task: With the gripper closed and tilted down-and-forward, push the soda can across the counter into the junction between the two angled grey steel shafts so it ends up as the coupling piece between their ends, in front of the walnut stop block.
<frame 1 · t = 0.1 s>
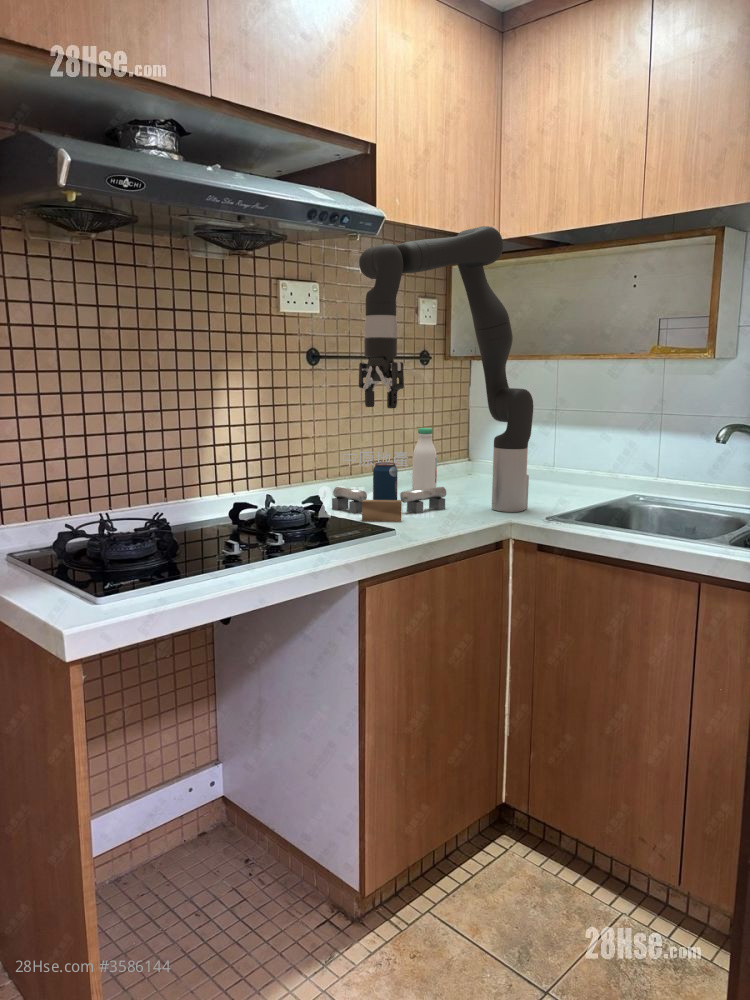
hand: (380, 407, 167), 29 cm above the table, tool pointing down, fingers open, 8 cm apart
soda can: (385, 505, 204), on the table
milk bottle: (424, 491, 230), on the table
shaft B: (349, 510, 196), on the table
shaft A: (423, 510, 196), on the table
stop block: (381, 520, 184), on the table
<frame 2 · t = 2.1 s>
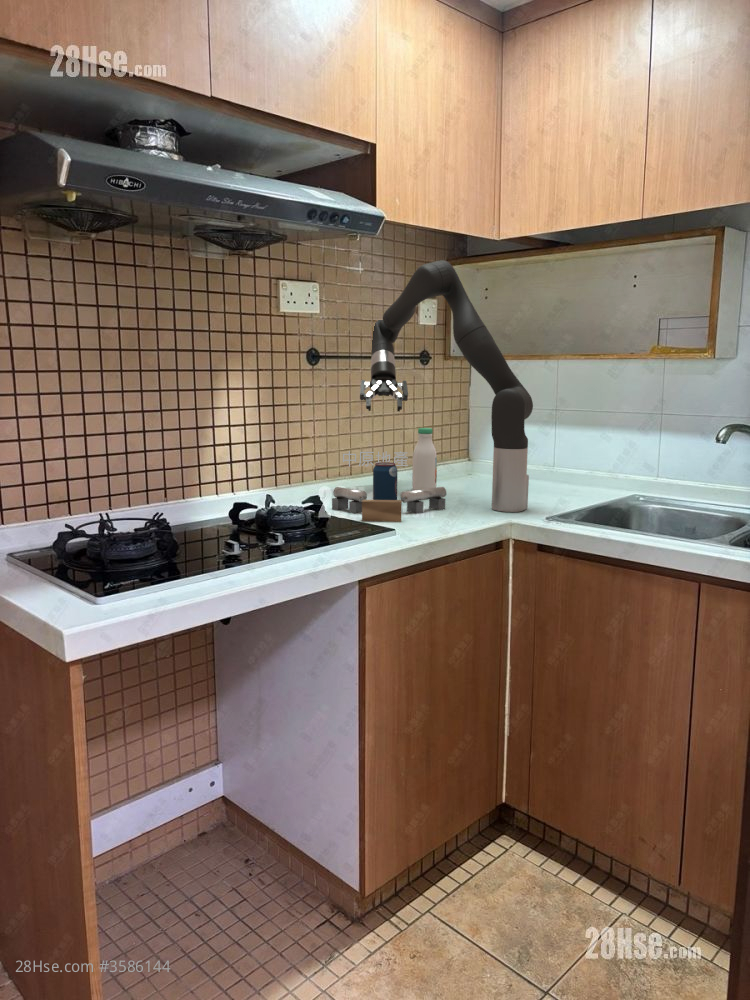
hand: (384, 409, 209), 27 cm above the table, tool tilted 45°, fingers open, 8 cm apart
nothing on the table moved.
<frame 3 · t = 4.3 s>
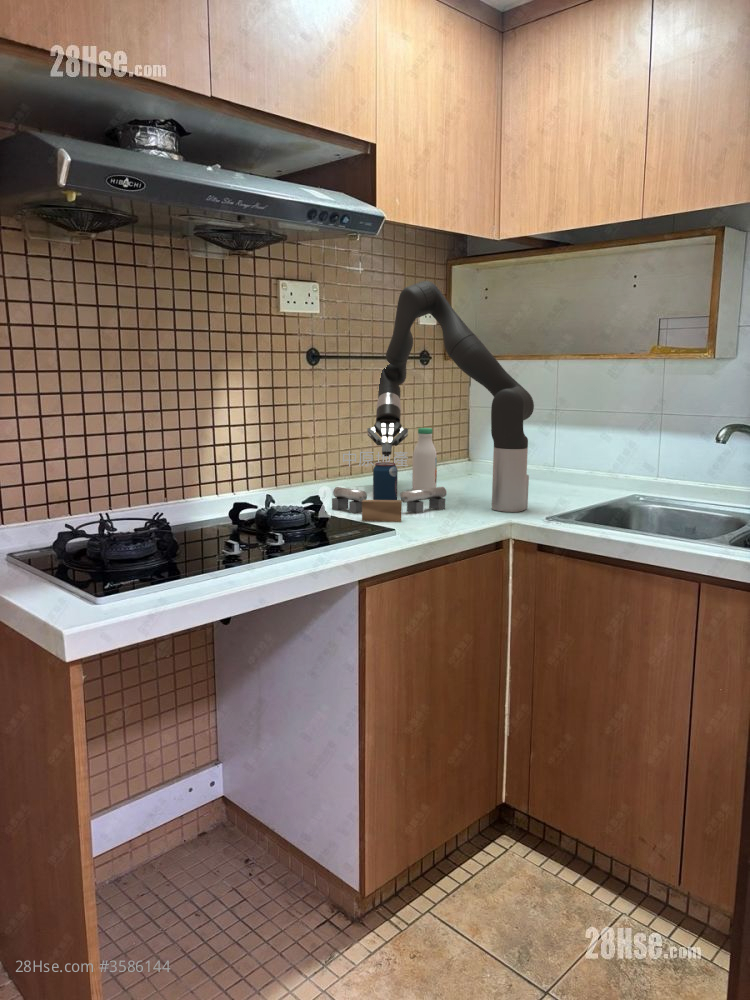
hand: (386, 454, 212), 13 cm above the table, tool tilted 45°, fingers closed
nothing on the table moved.
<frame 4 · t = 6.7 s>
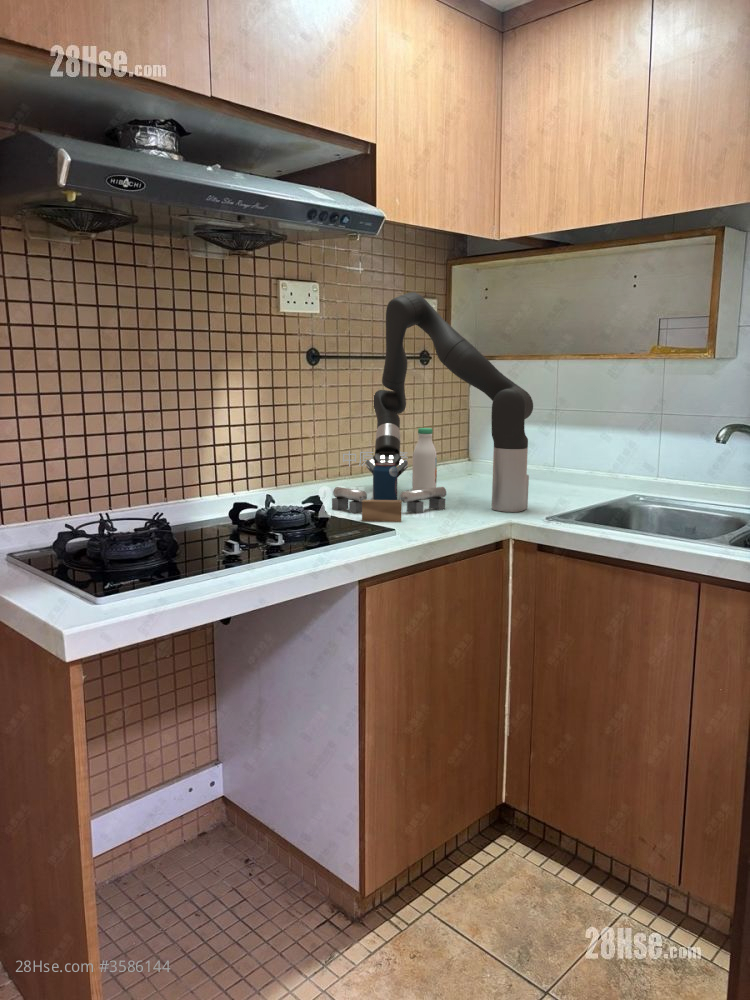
hand: (385, 488, 207), 4 cm above the table, tool tilted 45°, fingers closed
soda can: (385, 505, 204), on the table, touching gripper
everything else where it was.
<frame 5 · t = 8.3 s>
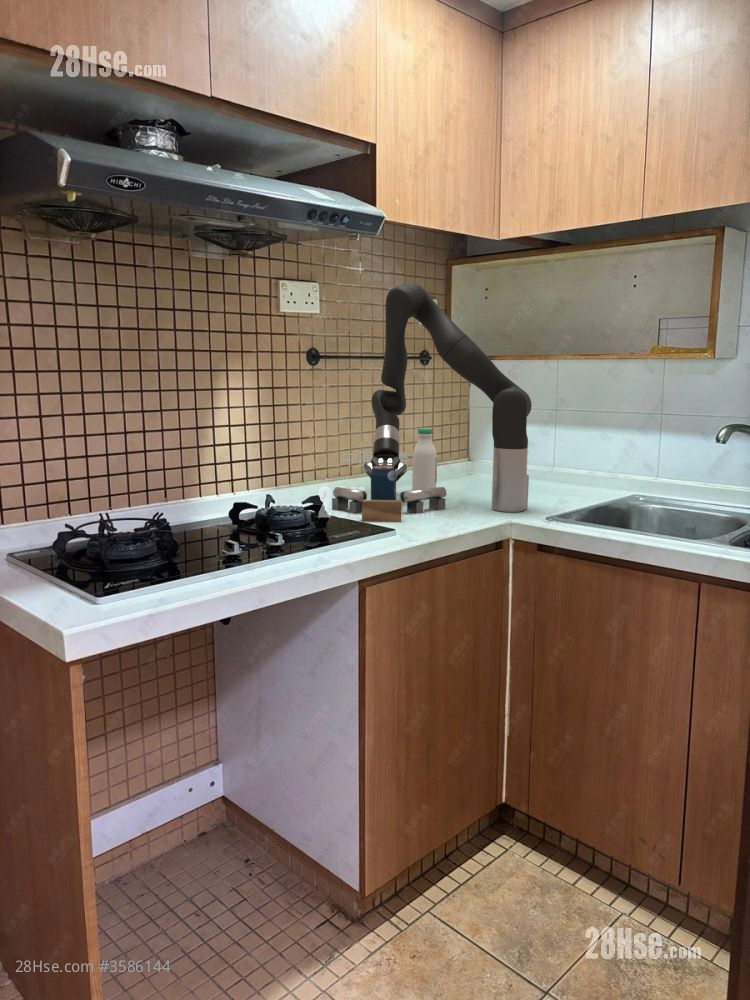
hand: (384, 493, 199), 4 cm above the table, tool tilted 45°, fingers closed
soda can: (383, 509, 197), on the table, touching gripper
everything else where it was.
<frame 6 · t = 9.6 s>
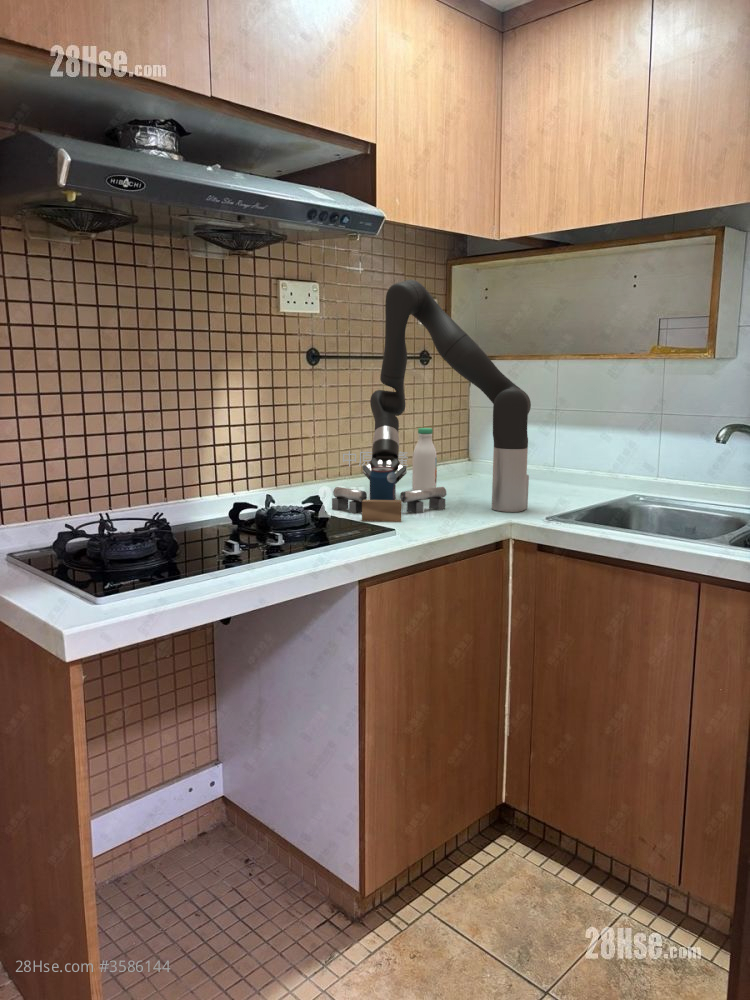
hand: (383, 495, 195), 4 cm above the table, tool tilted 45°, fingers closed
soda can: (382, 512, 193), on the table, touching gripper
everything else where it was.
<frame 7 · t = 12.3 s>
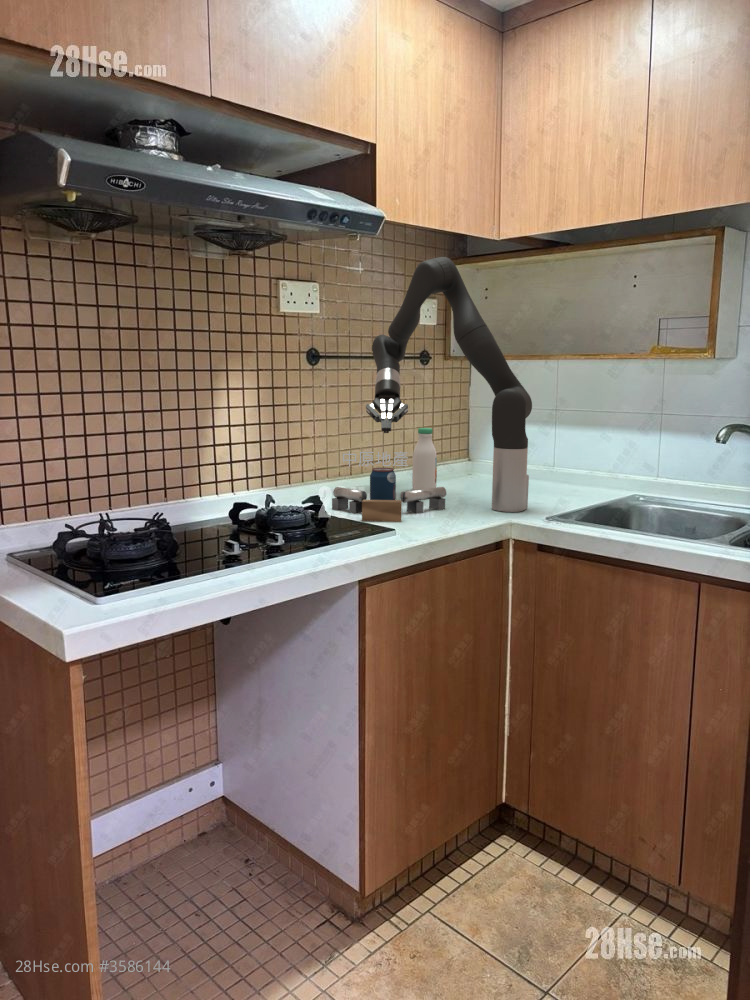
hand: (386, 431, 203), 21 cm above the table, tool tilted 45°, fingers closed
soda can: (382, 513, 193), on the table
everything else where it was.
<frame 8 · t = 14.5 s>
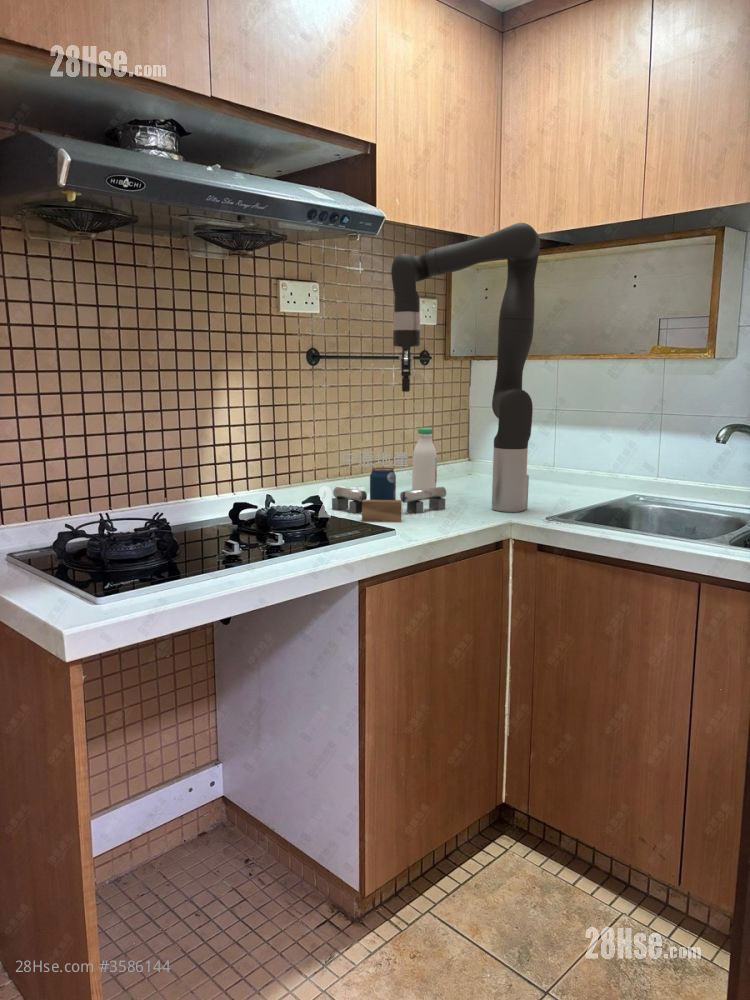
hand: (405, 391, 204), 32 cm above the table, tool pointing down, fingers closed
nothing on the table moved.
at the end: soda can inside the target area (0.7 cm from its centre), on the table; soda can tilted 0° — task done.
